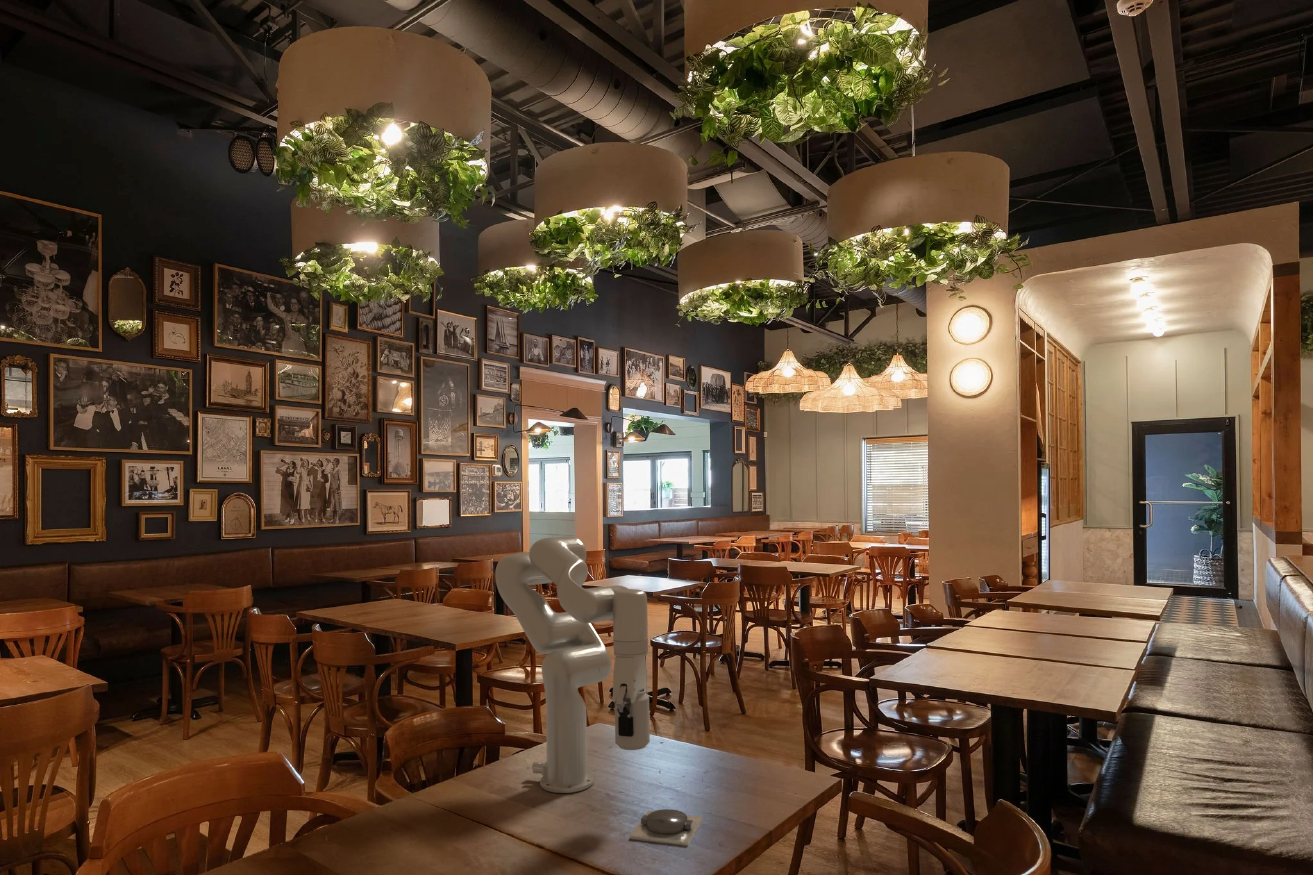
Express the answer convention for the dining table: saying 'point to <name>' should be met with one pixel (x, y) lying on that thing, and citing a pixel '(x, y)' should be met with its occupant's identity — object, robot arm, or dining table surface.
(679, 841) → the white flat square plate
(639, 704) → the can
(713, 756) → the dining table surface
